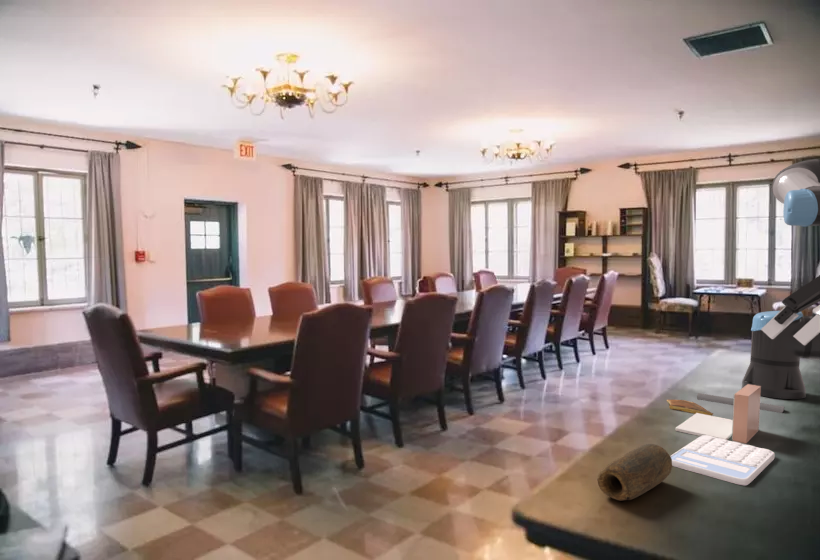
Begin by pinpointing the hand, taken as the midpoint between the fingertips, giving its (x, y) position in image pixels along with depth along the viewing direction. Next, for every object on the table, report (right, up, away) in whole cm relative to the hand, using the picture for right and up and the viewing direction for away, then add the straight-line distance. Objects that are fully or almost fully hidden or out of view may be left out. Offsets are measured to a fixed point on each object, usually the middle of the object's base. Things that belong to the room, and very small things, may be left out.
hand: (783, 337), depth 113 cm
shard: (-6, -21, +25) cm, 33 cm away
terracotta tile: (-4, -22, +5) cm, 23 cm away
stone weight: (-40, -23, -23) cm, 52 cm away
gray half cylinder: (+9, -21, +30) cm, 38 cm away
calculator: (-18, -23, -9) cm, 31 cm away
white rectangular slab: (-10, -21, +10) cm, 25 cm away
